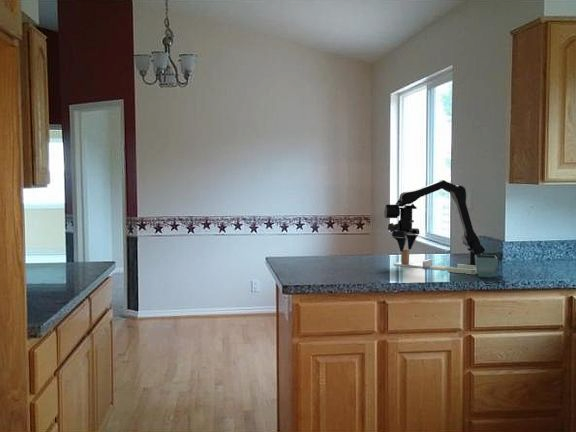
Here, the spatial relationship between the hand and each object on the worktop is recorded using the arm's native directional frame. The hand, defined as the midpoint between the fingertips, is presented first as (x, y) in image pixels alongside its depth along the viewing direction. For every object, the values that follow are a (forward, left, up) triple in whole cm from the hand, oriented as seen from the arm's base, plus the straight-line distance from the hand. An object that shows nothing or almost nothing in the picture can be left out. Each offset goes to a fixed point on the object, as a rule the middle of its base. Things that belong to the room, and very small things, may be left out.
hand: (405, 250), depth 305 cm
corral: (0, +29, -7) cm, 30 cm away
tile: (0, +17, -8) cm, 19 cm away
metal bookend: (0, +4, -7) cm, 8 cm away
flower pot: (+9, +42, -7) cm, 44 cm away
